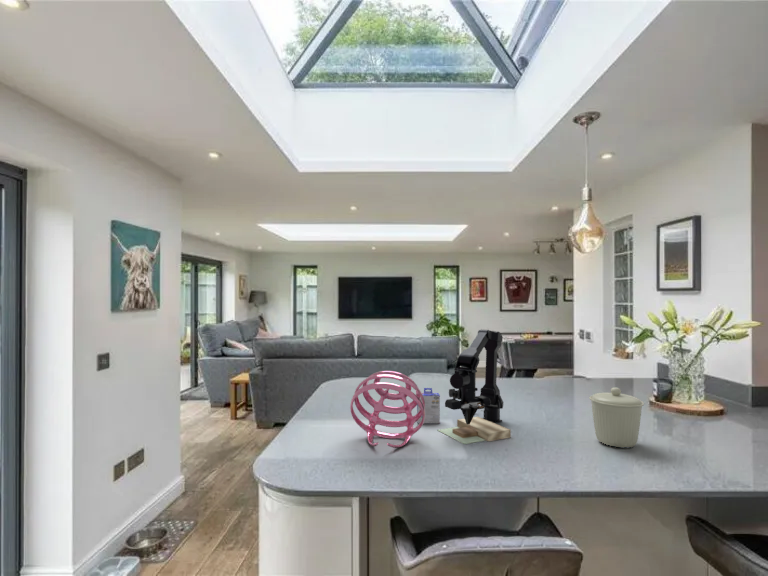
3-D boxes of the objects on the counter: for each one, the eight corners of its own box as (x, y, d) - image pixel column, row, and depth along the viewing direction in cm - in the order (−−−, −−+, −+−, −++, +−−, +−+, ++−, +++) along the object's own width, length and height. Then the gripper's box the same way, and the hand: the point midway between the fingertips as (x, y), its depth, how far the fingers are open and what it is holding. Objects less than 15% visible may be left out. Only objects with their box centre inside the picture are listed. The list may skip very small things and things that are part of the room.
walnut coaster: (466, 430, 171) (466, 426, 171) (477, 435, 165) (477, 431, 165) (452, 432, 168) (452, 429, 169) (462, 438, 162) (462, 434, 162)
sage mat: (457, 427, 176) (457, 426, 176) (485, 440, 160) (485, 439, 160) (437, 430, 172) (437, 429, 172) (464, 444, 156) (464, 443, 156)
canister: (624, 455, 146) (624, 394, 147) (579, 440, 162) (578, 385, 163) (655, 447, 154) (654, 390, 155) (609, 433, 170) (608, 381, 171)
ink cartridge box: (438, 420, 187) (438, 387, 187) (440, 424, 181) (440, 390, 182) (416, 420, 187) (416, 387, 187) (417, 423, 181) (417, 390, 182)
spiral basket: (405, 406, 134) (413, 349, 157) (329, 418, 144) (347, 363, 166) (433, 460, 147) (437, 401, 170) (361, 468, 156) (374, 411, 179)
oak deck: (478, 423, 182) (478, 416, 182) (510, 437, 164) (510, 429, 164) (457, 426, 178) (457, 419, 178) (488, 441, 160) (488, 433, 160)
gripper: (474, 379, 180) (474, 416, 179) (437, 382, 171) (437, 421, 171) (491, 384, 169) (491, 423, 169) (453, 388, 161) (453, 429, 161)
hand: (468, 424), depth 168 cm, fingers closed
